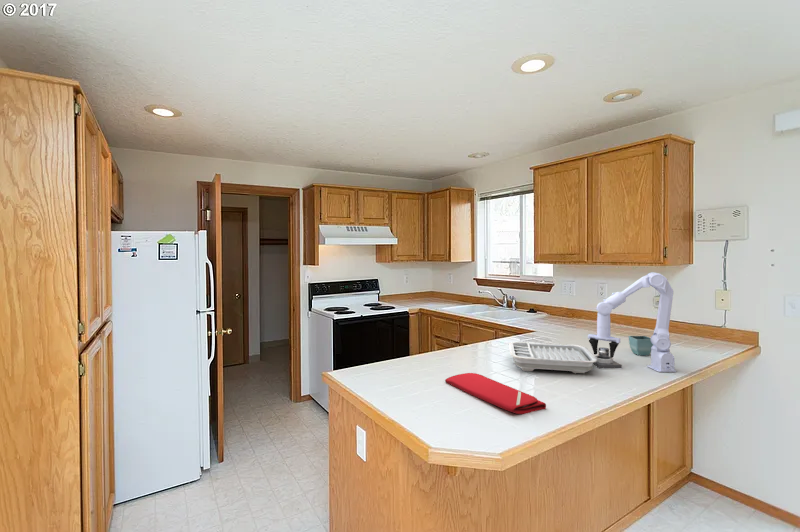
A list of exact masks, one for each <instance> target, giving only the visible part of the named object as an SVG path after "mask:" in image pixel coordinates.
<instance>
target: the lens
mask: <svg viewBox="0 0 800 532" xmlns="http://www.w3.org/2000/svg"><path fill="white" fill-rule="evenodd" d="M597 353H598V354H599V358H601V359H609V356H610V348H607V347H598V352H597Z"/></svg>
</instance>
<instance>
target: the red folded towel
mask: <svg viewBox="0 0 800 532" xmlns="http://www.w3.org/2000/svg"><path fill="white" fill-rule="evenodd" d="M444 381H445V382H446V383H447V384H448V385H451V386H453V387H455V388H457V389H459V390H461V391H463V392H466V393H467V394H469V395H471V396H474V397H475V398H478V399H480V400H482V401H484V402H487V403H488V404H491V405H494V406H496V407H498V408H501V409H503V410H504V411H508V412H511V413H513V414H516V415H525V414H529V413H533V412H537V411H541V410H546V407H547V404H546V403H545V402H543V401H541V400H539V399H538V398H537V397H536V396H534V395H531V394H530V393H529V394H528V393H526V392H524V391H521V390H518V389H516V388H514V387H511V386H509V385H506V384H503V383H501V382H498V381H497V380H494V379H492V378H489V377H487V376H484V375H482V374H480V373H476V372H466V373H459V374H455V375H451V376H449V377H447V378H446V379H445V380H444Z"/></svg>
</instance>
